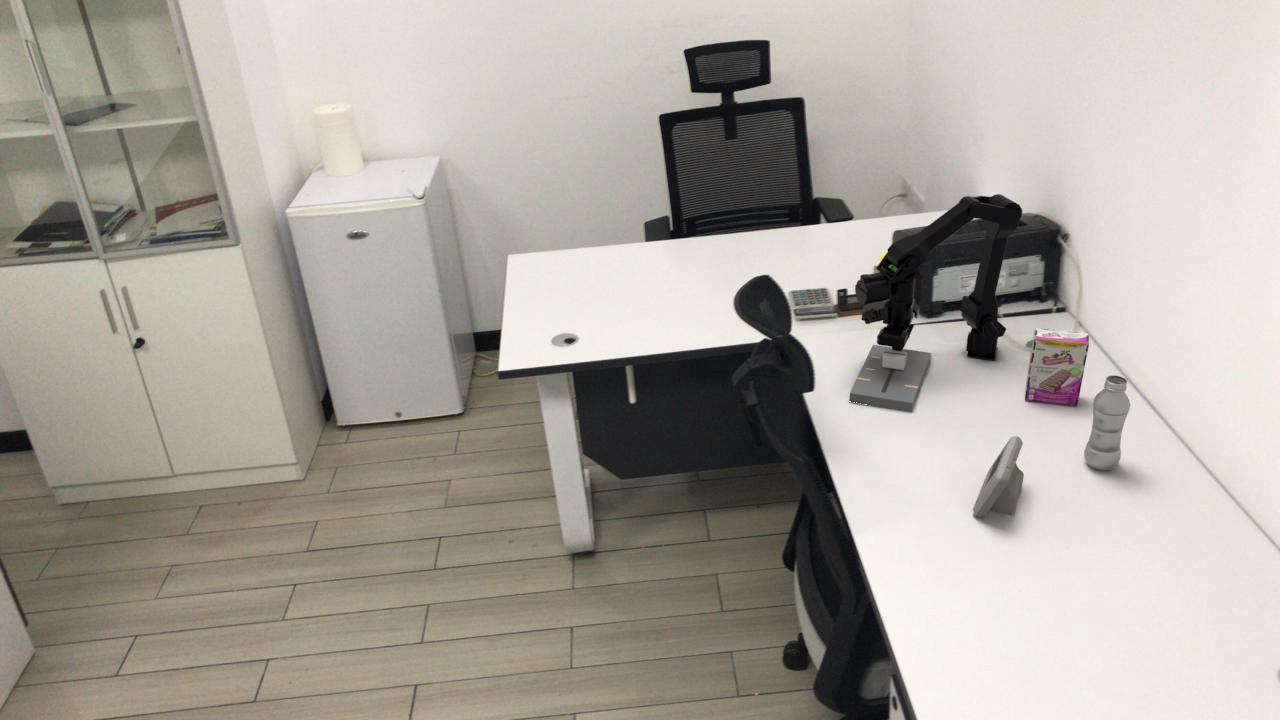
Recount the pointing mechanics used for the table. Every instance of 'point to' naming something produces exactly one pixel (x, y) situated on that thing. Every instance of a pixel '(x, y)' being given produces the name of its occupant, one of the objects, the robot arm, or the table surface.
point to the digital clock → (1001, 482)
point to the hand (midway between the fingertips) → (896, 355)
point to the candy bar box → (1056, 367)
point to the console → (890, 380)
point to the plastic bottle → (1107, 424)
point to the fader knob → (894, 359)
